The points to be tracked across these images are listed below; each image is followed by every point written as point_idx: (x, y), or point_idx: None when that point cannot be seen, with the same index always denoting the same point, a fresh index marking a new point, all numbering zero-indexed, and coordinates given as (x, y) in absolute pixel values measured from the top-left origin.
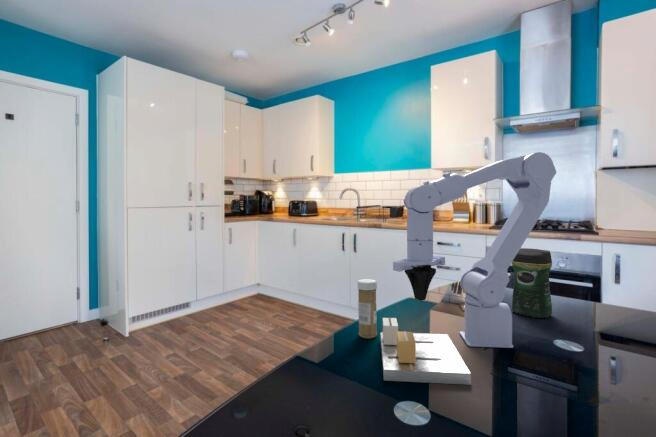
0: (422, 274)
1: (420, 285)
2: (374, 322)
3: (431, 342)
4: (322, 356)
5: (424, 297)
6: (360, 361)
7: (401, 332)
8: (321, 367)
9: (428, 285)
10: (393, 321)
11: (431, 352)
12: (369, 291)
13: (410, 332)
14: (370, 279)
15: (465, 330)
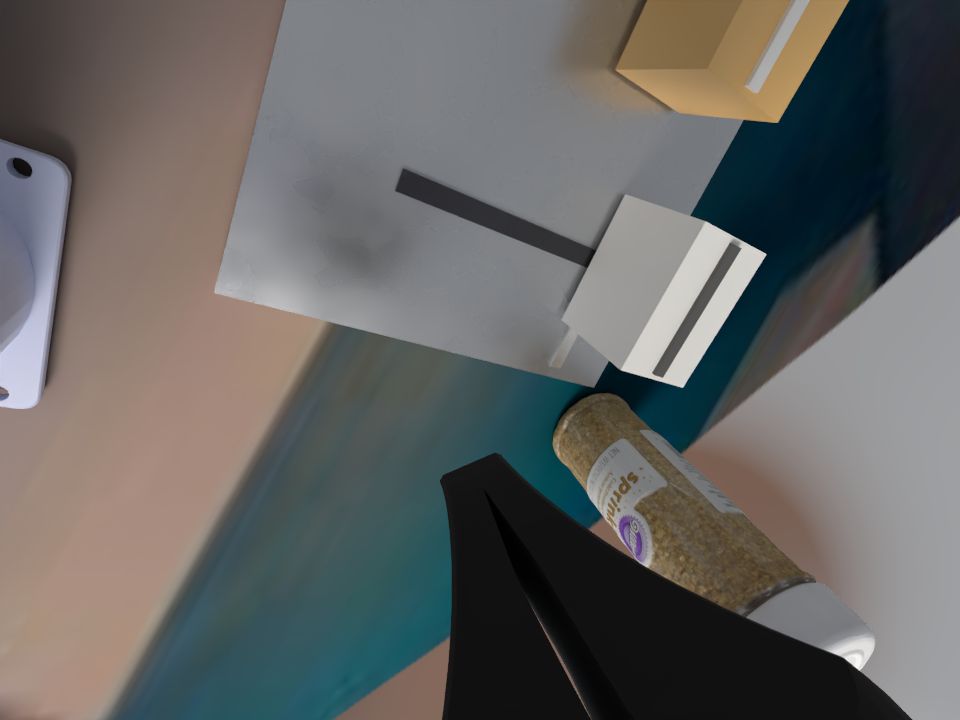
0: (835, 684)
1: (625, 557)
2: (622, 442)
3: (415, 178)
4: (830, 264)
5: (470, 481)
6: (758, 176)
7: (770, 88)
8: (886, 171)
9: (474, 605)
10: (674, 312)
11: (501, 23)
12: (792, 577)
13: (726, 58)
14: None
15: (8, 313)
